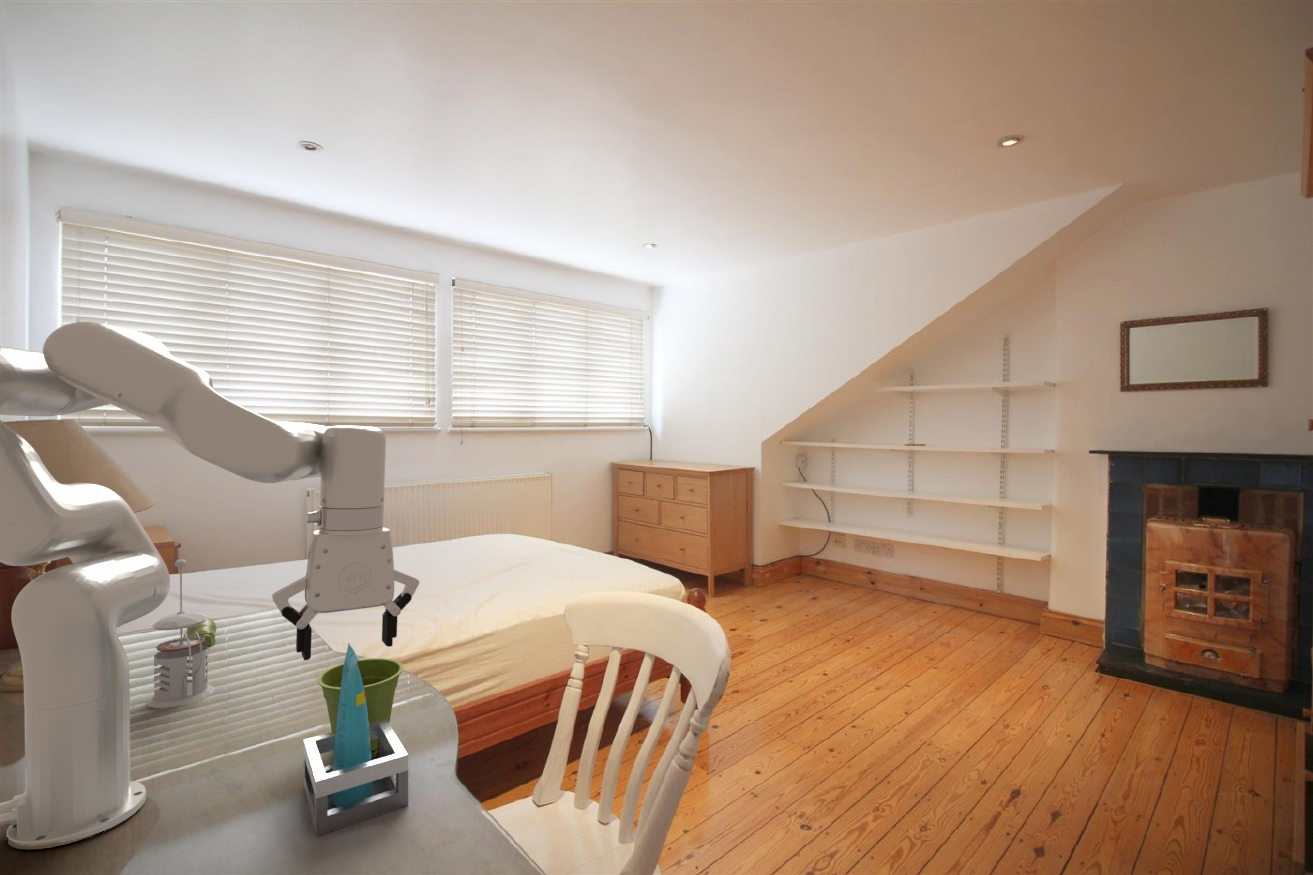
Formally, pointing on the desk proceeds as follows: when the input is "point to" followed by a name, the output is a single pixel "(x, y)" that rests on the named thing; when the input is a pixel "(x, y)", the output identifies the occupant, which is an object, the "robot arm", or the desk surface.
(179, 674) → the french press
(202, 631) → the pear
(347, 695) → the tube
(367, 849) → the desk surface
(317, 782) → the square metal frame
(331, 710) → the plant pot
